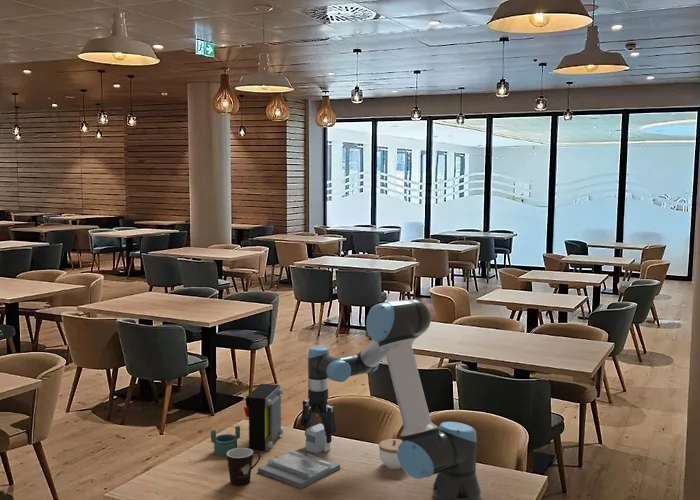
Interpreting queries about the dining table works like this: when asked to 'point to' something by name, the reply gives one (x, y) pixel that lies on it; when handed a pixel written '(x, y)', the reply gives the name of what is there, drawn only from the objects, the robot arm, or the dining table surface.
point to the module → (315, 438)
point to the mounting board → (294, 478)
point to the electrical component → (264, 416)
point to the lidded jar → (390, 453)
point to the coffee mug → (240, 465)
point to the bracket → (225, 441)
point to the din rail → (300, 464)
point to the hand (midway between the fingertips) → (318, 447)
